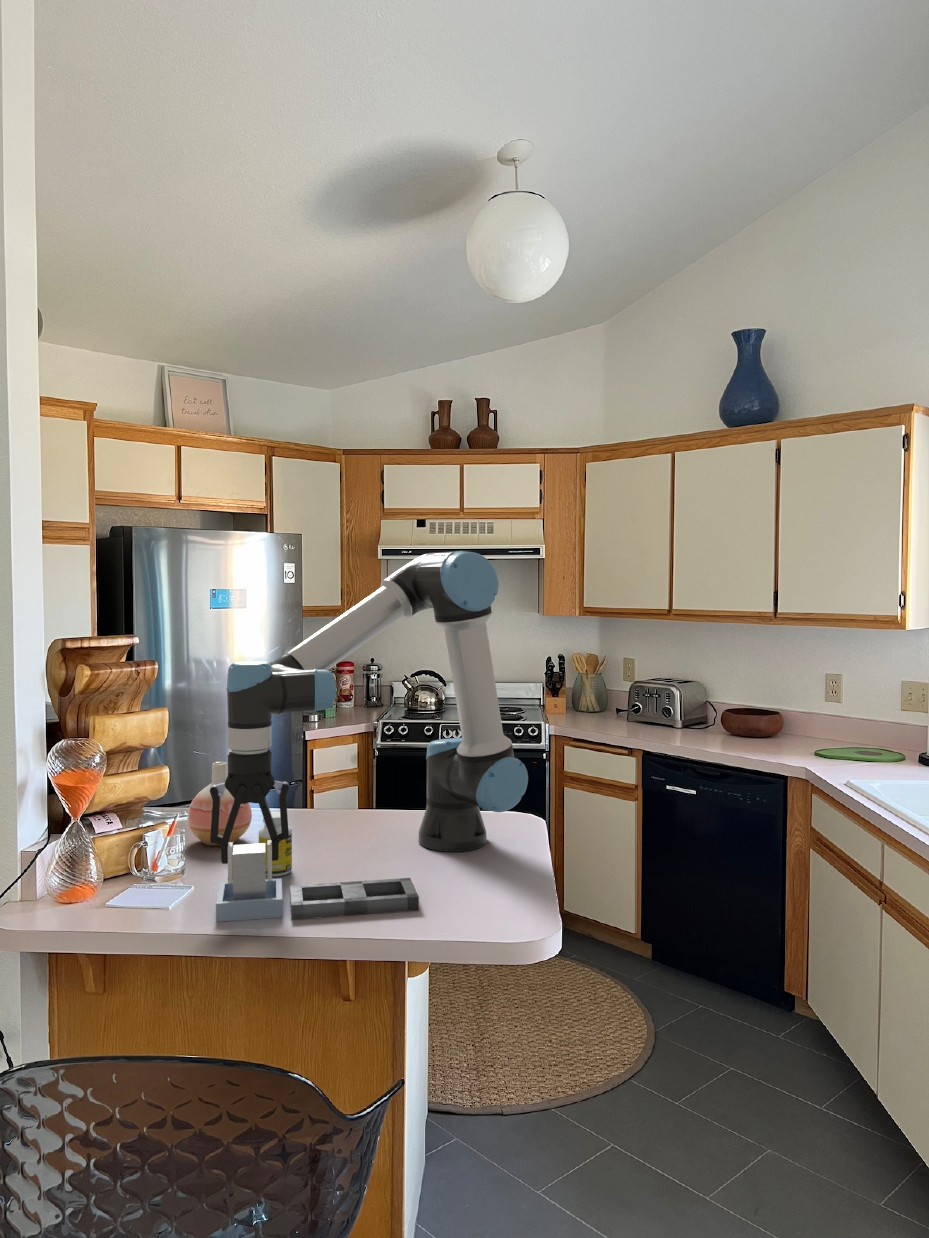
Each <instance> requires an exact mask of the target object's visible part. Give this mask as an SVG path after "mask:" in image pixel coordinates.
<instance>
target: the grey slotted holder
mask: <svg viewBox="0 0 929 1238" xmlns="http://www.w3.org/2000/svg"><path fill="white" fill-rule="evenodd" d="M289 889H290V891H289V893H290V894H289V895H290V897H289V899H290V900H289V903H290V904H289V905H290V915H291V916H290V917H291V918H290V919H291V920H292V921H295V920H304V919H305V920H308V919H320V918H322V919H323V918H333V917H334V918H335V917H348V916H349V917H350V916H362V915H373V914H374V915H375V914H377V915H378V914H387V913H389V914H390V913H402V912H405V913H406V912H417V911H419V910H420V909H419V908H420V907H419V903H420V899H419V898H420V896H419V895H418V892H417V890H416V888H415V886H414V884H413V881H412V879H411V877H404V878H403V877H402V878H385V879H370V880H358V881H356V880H355V881H344V882H343V881H341V882H339V881H338V882H325V883H324V882H323V883H309V884H294V885H290V886H289Z"/></svg>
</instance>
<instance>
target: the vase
mask: <svg viewBox="0 0 929 1238" xmlns="http://www.w3.org/2000/svg"><path fill="white" fill-rule="evenodd" d="M211 771H212V772H211V774H212V775H211V783H210V784H207V786H205V787H204V788H203V789H202V790H200V791H199V792H198V793H197V794H196V795H195V797H193V799H192V801H191V803H190V804H189V808H188V811H187V825H188V829H189V831H190V833H192V835H193V836H194V837H195V838H197V839H198V840H199V841H200V842H201V843H202V844H204V845H206V846H210V847H211V846H212V847H221V846H220V845H219V844H217V843H211V841H210V835H211V820H212V804H213V800H212V797H211V794H210V788H211V785H213V784H216V785H218V784H221V783H224V782H225V780H226V779H227V776H228V762H226V761H216V762H213V763H212V768H211ZM233 802H234V798H233V796H232V795H231V794H230V793H229V791H228V790H227V789H225V790H224V793H223V796H221V800H220V816H219V831H218V834H219V835H222V836H223V833H224V830H225V827H226V824H227V821H228V817H229V814H230V811H231V808H232V805H233ZM252 816H253V814H252V807H251V803H250V802H249V803H246V804H241V805H240V808H239V811H238V814H237V817H236V820H235V823H234V826H233V830H232V833H231V836H230V839H229V842H233V844H234V843H236V842H237V841H238V840H239V839H240V838H241V837H242V836H244V835H245V833H246V832H247V830H248V829H249V827H250V825H251V823H252V820H253V819H252Z"/></svg>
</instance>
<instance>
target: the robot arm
mask: <svg viewBox="0 0 929 1238" xmlns="http://www.w3.org/2000/svg"><path fill="white" fill-rule="evenodd" d="M498 591H499V578H498V574H497V571H496V569H495V567H494V565H493V564H492V563H491V561H490V560H489V559H487V558H486V557H485V556H483V555H482V554H480V553H478V552H474V551H473V552H472V551H467V550H456V551H455V550H454V551H442V552H438V551H437V552H435V551H434V552H429V553H424V554H422V555H419V556H418V557H417V558H414V559H413V560H411V561H410V562H408V563H407V564H405V565H403V566H402V567H400V568H399V569H398V570H396V571H394V572H393V573H391V574H390V575H388V577H386V578H385V579H383V580H382V581H381V582H380V587H379V588H378V589H377V590H376V591H374V592H372V593H371V594H369V595H368V596H367V597H365V598H364V599H363V600H361V601H359V603H357V604H356V605H354V606H352V607H351V608H350V609H348V610H347V611H345V612H343V614H341V615H340V616H338V617H336V618H335V619H334V620H332V621H330V623H327V624H326V625H325V626H323V627H322V628H320V629H319V630H318V631H316V632H315V633H313V634H312V635H311V636H309V637H308V638H306V639H305V640H303V641H302V642H300V643H299V644H298V645H296V646H294V647H293V648H291V649H290V650H289V651H288V652H286V653H284V654H282V655H281V656H279V657H278V658H276V659H275V660H274V661H272V662H269V661H263V660H261V661H259V660H257V661H256V660H254V661H253V660H252V661H251V660H250V661H249V660H245V661H243V660H242V661H236V662H233V663H231V664H230V665H229V666H228V670H227V682H226V692H227V693H226V698H227V733H226V734H227V736H226V738H227V739H226V740H227V749H228V750H229V751H228V753H227V779H226V780H225V782H224V783H221V784H218V785H216V784H213V785H211V788H210V794H211V797H212V800H213V804H212V820H211V835H210V841H211V843H217V844H219V845H220V846H219V847H220V855H221V856H220V862H221V864H222V865H225V864H227V882H228V884H232V883H233V860H232V854H233V847H234V843H233V842H229V839H230V836H231V833H232V830H233V826H234V823H235V820H236V817H237V814H238V811H239V808H240V805H241V804H246V803H250V804H258V806H259V808H260V811H261V814H262V818H263V817H264V820H265V823H266V826H267V829H268V832H269V835H270V838H271V840H268V841H267V862H268V876H267V879H268V881H272V879H273V877H272V861H277V860H278V858H279V842H280V841H281V840H284V839H287V838H288V837H289V830H288V826H289V822H288V821H289V818H288V807H287V806H288V804H287V797H288V796H287V795H288V792H289V790H290V789H289V788H290V787H289V786H290V784H289V782H288V781H287V780H284V781H281V780H275V778H274V776H273V774H272V771H273V769H272V768H273V767H272V764H273V763H272V761H273V760H272V759H273V758H272V755H273V754H272V753H273V752H272V751H271V750H270V748H271V747H272V720H273V719H272V717H273V715H280V714H291V713H307V712H314V713H315V712H318V711H325V710H329V709H331V708H332V707H333V706H334V704H335V702H336V699H337V683H336V682H337V681H336V680H335V677H334V675H333V673H332V672H331V671H330V670H331V669H332V668H333V667H334V666H336V665H337V664H338V663H339V662H341V661H343V660H344V659H346V658H347V657H348V656H349V655H351V654H353V653H354V652H355V651H356V650H358V649H359V648H361V647H362V646H364V645H365V644H366V643H367V642H369V641H371V640H373V638H375V637H376V636H378V635H379V634H381V633H382V632H383V631H385V630H386V629H388V628H389V627H390V626H392V625H393V624H395V623H396V622H397V621H399V620H400V619H404V620H406V619H407V620H408V619H409V618H412V617H413V616H414V615H415V614H417V613H419V612H422V611H424V610H425V611H426V610H430V609H433V613H434V614H433V615H434V620H435V624H437V625H438V626H440V627H442V629H443V630H444V635H445V641H446V648H447V653H448V659H449V666H450V671H451V678H452V684H453V689H454V696H455V702H456V709H457V715H458V716H457V717H458V721H459V722H458V723H459V727H460V728H459V729H460V734H461V737H453V738H452V737H451V738H443V739H436V740H432V741H430V742H429V743H428V744H427V748H426V756H425V761H426V807H425V808H426V809H425V811H424V813H423V817H422V820H421V823H420V827H419V829H418V844H419V845H420V846H421V847H424V848H426V849H429V850H433V851H434V850H435V851H440V852H463V851H464V852H465V851H472V850H476V849H479V848H481V847H483V846H485V845H486V844H487V836H488V835H487V829H486V826H485V823H484V820H483V817H482V812H481V810H480V808H481V809H482V810H484V811H487V812H495V813H504V812H507V811H508V812H509V810H511V809H513V808H514V807H516V805H518V804H519V802H520V801H522V800H521V799H522V797H523V796H524V795H525V794H526V790H527V787H528V783H529V774H528V770H527V768H526V766H525V764H524V763H523V762H522V761H521V760H520V759H518V758H517V757H515V754H514V748H513V747H514V746H513V742H512V739H511V738H509V737H508V736H506V735H505V734H504V730H503V724H502V717H501V711H500V704H499V698H498V691H497V686H496V685H497V684H496V679H495V673H494V666H493V660H492V659H493V658H492V652H491V645H490V640H489V639H490V638H489V635H488V627H487V622H488V620H489V619H490V618H491V616H492V614H493V610H492V604H493V603H494V601H495V599H496V595H498V593H499V592H498ZM273 788H274V789H275V793H276V794H277V795H278V799H279V800H278V801H279V812H280V816H281V830H282V831H280V832H278V833H277V830H276V827H275V824H274V821H273V818H272V815H271V812H272V811H271V810H270V807H269V803H268V800H267V795H268V794H269V793H270V791H271V790H272V789H273ZM225 789H227V790H228V791H229V793H230V794H231V795H232V796H233V798H234V802H233V805H232V808H231V811H230V814H229V817H228V821H227V824H226V827H225V830H224V833H223V836H222V835H219V834H218V831H219V816H220V800H221V796H223V793H224V790H225ZM265 823H264V824H265Z"/></svg>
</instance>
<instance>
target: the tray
mask: <svg viewBox="0 0 929 1238" xmlns="http://www.w3.org/2000/svg"><path fill="white" fill-rule="evenodd" d="M282 881H283V879H282V878H272V881H268V878H266V899H251V900H236V901H233V883H232V884H228V881H220V882H219V885H218V890H217V891H218V892H217V895H216V902H215V923H219V922H229V921H230V922H233V921H235V922H236V921H246V920H250V921H251V920H262V919H275V918H276V919H277V918H283V882H282Z"/></svg>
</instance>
